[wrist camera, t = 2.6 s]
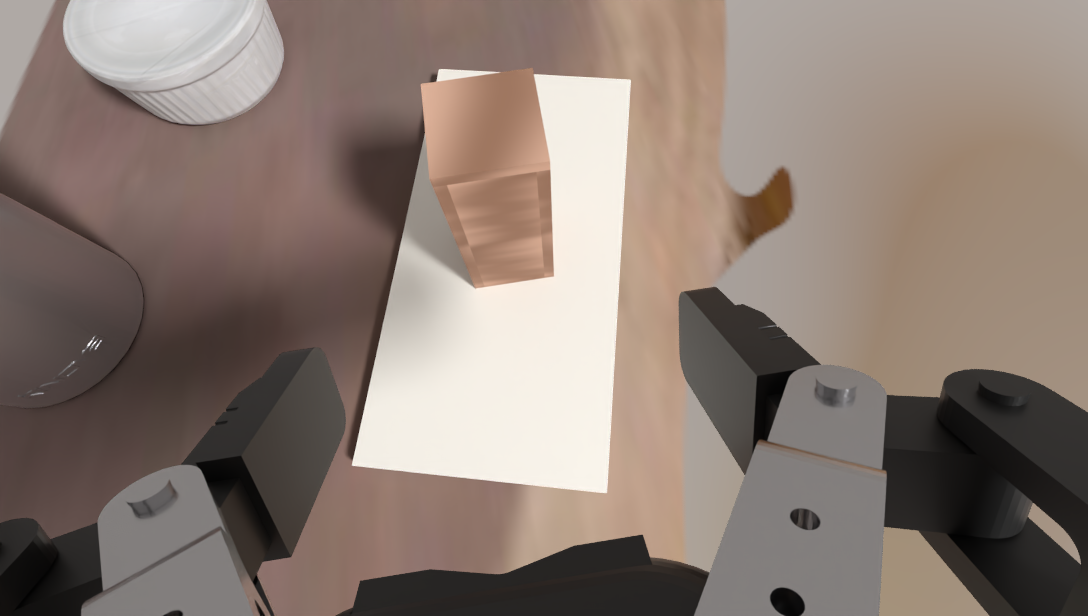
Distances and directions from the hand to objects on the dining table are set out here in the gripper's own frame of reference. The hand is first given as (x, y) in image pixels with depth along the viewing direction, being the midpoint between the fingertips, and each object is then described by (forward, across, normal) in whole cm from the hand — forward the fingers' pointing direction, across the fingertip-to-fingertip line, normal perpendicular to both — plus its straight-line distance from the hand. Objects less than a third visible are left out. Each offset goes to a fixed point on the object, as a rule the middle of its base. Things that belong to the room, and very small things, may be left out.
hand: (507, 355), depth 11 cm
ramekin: (+29, +18, -8) cm, 35 cm away
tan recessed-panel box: (+16, 0, +3) cm, 17 cm away
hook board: (+17, 0, +4) cm, 18 cm away
